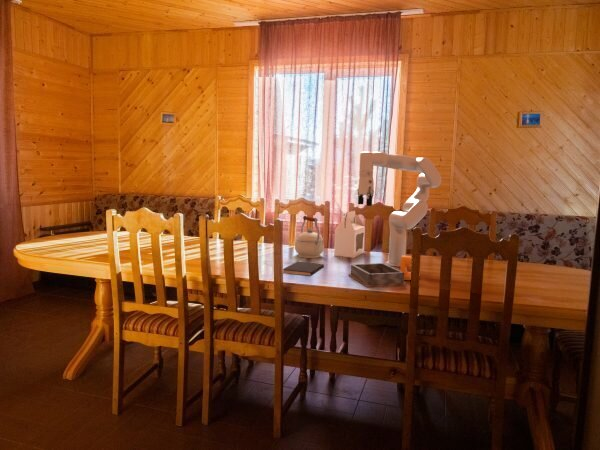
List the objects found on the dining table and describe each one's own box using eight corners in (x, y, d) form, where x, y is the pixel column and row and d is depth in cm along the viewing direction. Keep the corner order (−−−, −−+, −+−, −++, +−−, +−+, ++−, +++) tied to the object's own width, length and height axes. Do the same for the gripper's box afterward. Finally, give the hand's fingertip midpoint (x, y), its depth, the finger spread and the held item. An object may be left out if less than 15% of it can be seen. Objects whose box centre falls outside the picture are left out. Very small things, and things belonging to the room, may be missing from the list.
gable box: (345, 250, 317) (346, 209, 313) (364, 252, 311) (365, 210, 308) (333, 255, 297) (335, 212, 293) (353, 257, 291) (355, 213, 288)
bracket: (413, 282, 233) (414, 258, 232) (399, 280, 236) (400, 257, 234) (416, 277, 243) (418, 255, 242) (402, 276, 246) (403, 253, 244)
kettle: (288, 253, 299) (289, 215, 296) (313, 252, 307) (314, 214, 304) (307, 261, 277) (308, 219, 274) (333, 259, 286) (334, 218, 282)
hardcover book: (282, 273, 247) (282, 269, 246) (297, 265, 268) (297, 261, 268) (310, 276, 241) (310, 272, 241) (323, 268, 263) (324, 264, 262)
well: (383, 274, 249) (383, 262, 248) (405, 285, 226) (406, 273, 225) (348, 275, 243) (349, 264, 242) (368, 287, 220) (368, 274, 219)
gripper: (380, 174, 252) (378, 206, 254) (364, 174, 268) (363, 203, 270) (367, 174, 249) (366, 206, 251) (352, 173, 265) (351, 203, 267)
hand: (364, 205), depth 261 cm, fingers open, 9 cm apart
